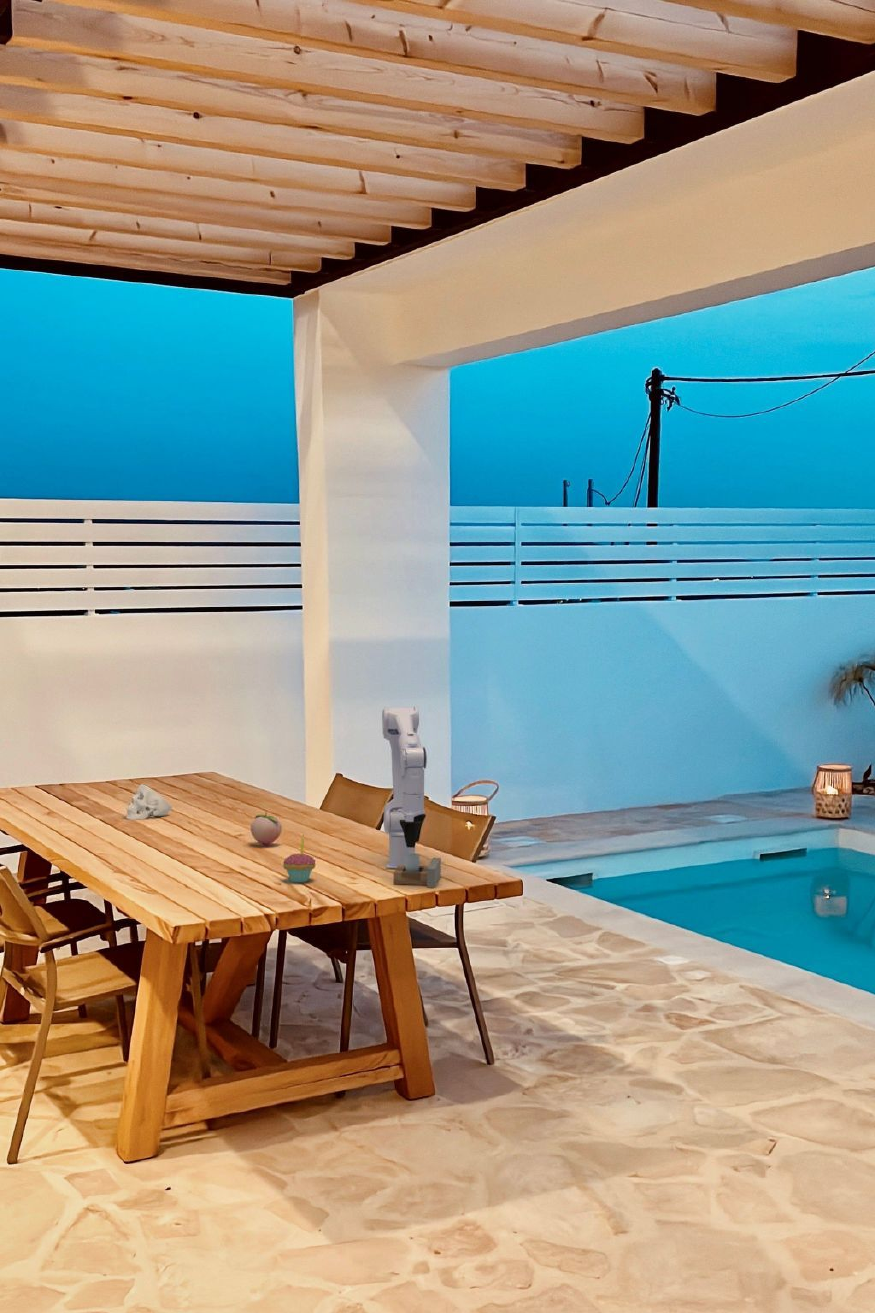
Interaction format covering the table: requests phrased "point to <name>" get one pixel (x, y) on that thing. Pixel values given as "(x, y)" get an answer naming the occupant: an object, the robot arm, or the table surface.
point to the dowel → (412, 862)
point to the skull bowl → (147, 804)
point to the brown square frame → (410, 876)
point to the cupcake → (299, 866)
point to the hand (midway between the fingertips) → (412, 844)
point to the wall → (433, 872)
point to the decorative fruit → (265, 829)
